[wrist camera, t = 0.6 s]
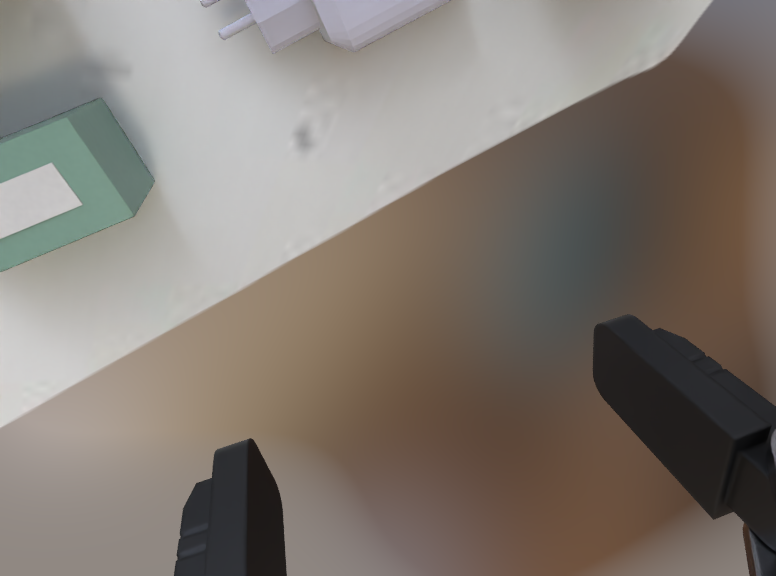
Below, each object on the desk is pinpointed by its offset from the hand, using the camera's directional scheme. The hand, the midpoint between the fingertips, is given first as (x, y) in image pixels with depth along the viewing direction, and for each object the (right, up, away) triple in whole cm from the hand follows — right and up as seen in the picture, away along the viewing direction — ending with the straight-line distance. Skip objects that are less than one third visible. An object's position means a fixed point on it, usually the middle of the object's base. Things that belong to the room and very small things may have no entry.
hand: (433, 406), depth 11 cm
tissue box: (-22, +10, +19) cm, 31 cm away
